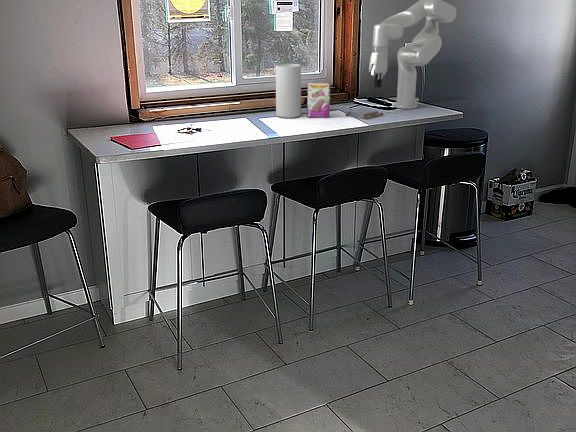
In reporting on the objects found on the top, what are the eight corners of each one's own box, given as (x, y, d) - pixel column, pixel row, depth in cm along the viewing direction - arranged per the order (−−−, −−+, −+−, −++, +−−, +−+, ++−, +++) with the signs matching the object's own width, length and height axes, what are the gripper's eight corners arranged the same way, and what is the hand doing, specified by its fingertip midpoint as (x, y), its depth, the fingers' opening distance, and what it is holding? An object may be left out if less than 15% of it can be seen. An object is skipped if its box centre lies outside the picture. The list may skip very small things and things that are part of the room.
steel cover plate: (362, 114, 325) (362, 108, 324) (378, 116, 319) (378, 110, 318) (347, 117, 317) (347, 111, 316) (363, 120, 311) (363, 113, 310)
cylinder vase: (300, 113, 325) (300, 63, 317) (301, 118, 313) (301, 66, 305) (276, 113, 325) (275, 64, 317) (276, 118, 313) (275, 66, 305)
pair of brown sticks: (362, 112, 327) (362, 109, 327) (383, 115, 319) (383, 112, 318) (345, 116, 318) (345, 113, 317) (366, 119, 309) (366, 116, 309)
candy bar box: (306, 117, 314) (307, 84, 309) (307, 115, 319) (307, 83, 313) (329, 118, 313) (329, 84, 308) (329, 116, 318) (330, 83, 312)
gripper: (382, 49, 323) (380, 85, 329) (364, 50, 313) (362, 87, 318) (394, 49, 318) (392, 86, 324) (376, 51, 308) (374, 89, 313)
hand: (377, 87), depth 321 cm, fingers closed
